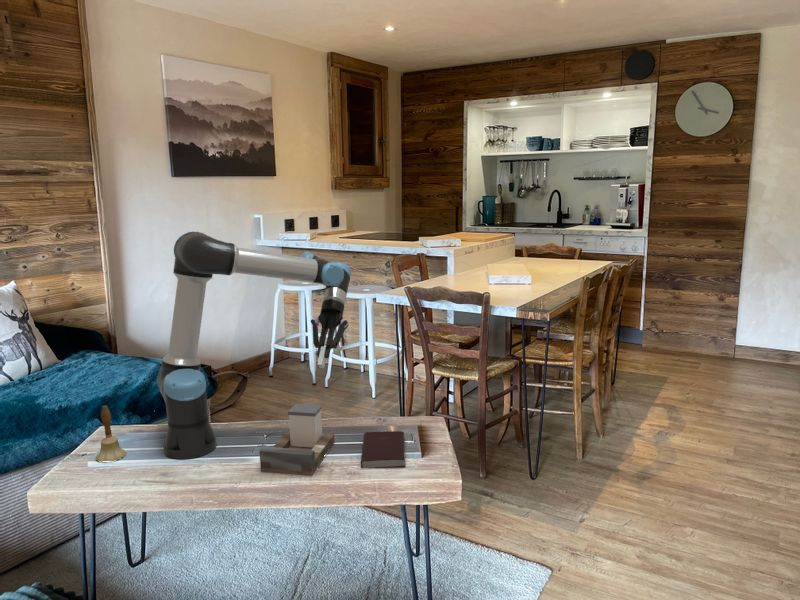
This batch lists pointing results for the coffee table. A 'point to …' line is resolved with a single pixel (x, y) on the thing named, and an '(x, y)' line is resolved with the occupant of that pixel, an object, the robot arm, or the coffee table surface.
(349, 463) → the coffee table surface
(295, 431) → the beige upright block
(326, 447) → the dark open tray
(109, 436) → the hand bell
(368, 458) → the book
